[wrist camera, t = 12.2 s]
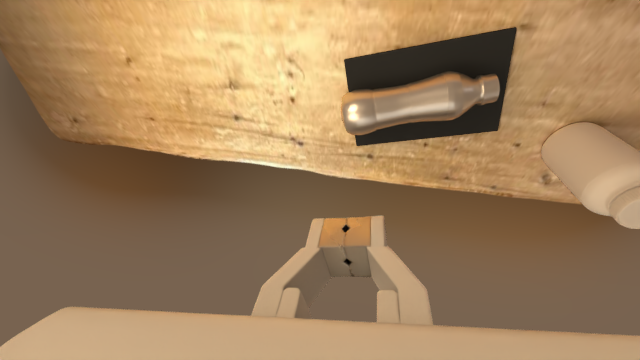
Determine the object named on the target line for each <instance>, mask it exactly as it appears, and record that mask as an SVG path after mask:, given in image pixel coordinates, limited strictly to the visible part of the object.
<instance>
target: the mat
mask: <svg viewBox="0 0 640 360" xmlns="http://www.w3.org/2000/svg"><path fill="white" fill-rule="evenodd" d="M515 34H516V27H514V28H509V29H504V30H498V31H493V32H488V33H482V34H477V35H472V36H466V37H461V38H456V39H451V40H445V41H440V42H435V43H429V44H424V45H419V46H413V47H408V48H403V49H397V50H392V51H387V52H381V53H376V54H371V55H365V56H360V57H355V58H349V59H345V60H344V62H345V69H346V76H347V83H348V90H349V92H351V91H354V90H360V89H371V90H374V89H380V88H388V87H396V86H400V85H407V84H408V83H412V82H416V81H420V80H423V79H426V78H429V77H432V76H435V75H438V74H441V73H444V72H448V71H451V72H458V73H461V74H464V75H466V76H468V77H470V78H472V79H476V77H477V76H479V75H483V76H484V75H489V74H496V75H497V77H498V80H499V85H500V91H499V97H498V99H497V101H495V102H493V103H487V104H484V105H480V106H479V105H477V104H475V105H473V106H472V107H471V108H470V109H469V110H468V111H466V112H465V113H464V114H462V115H461V116H460V117H458V118H455V119H453V120H447V121H444V120H443V121H422V122H414V123H411V122H409V123H405V124H399V125H395V126H390V127H386V128H382V129H377V130H376V131H373V132H371V133H367V134H364V135H355V138H356V145H357V146H360V145H370V144H379V143H388V142H398V141H407V140H416V139H425V138H435V137H444V136H453V135H463V134H472V133H481V132H490V131H498V126H499V121H500V115H501V110H502V105H503V99H504V94H505V88H506V83H507V77H508V72H509V66H510V61H511V55H512V50H513V44H514V39H515Z"/></svg>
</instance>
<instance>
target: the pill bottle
mask: <svg viewBox="0 0 640 360" xmlns="http://www.w3.org/2000/svg"><path fill="white" fill-rule="evenodd" d="M541 156H542V159H543V161H544V162H545V164H546V165H547V166H548V167H549V168H550V169H551V170H552V172H553V173H554V174H555V175H556V176H557V177H558V178H559V179H560V180H561V181H562V182H563V183H564V185H565V186H566V187H567V188H568V189H569V190H570V191H571V192H572V193H573V194H574V195H575V196H576V198H577V199H578V200H579V201H580V202H581V203H582V204H583V205H584V206H585V207H586V208H587V209H589V210H591V211H593V212H595V213H597V214H601V215H605V216H612V217H613V218H614V219H615V220H616V221H617V222H618V223H619V224H621V225H622V226H625V227H628V228H633V229H640V151H638V150H636V149H635V148H633V147H632V146H630V145H629V144H627V143H626V142H624V141H623V140H621V139H620V138H618V137H617V136H615V135H614V134H612V133H611V132H609V131H607V130H606V129H604V128H603V127H601V126H599V125H597V124H594V123H588V122H581V123H574V124H570V125H567V126H565V127H563V128H561V129H559V130H557V131H556V132H554V133H553V134H552V135H551V136H549V137H548V139H547V140H546V141H545V143H544V144H543V146H542V150H541Z"/></svg>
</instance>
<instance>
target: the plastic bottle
mask: <svg viewBox="0 0 640 360" xmlns="http://www.w3.org/2000/svg"><path fill="white" fill-rule="evenodd" d="M499 91H500V85H499V80H498V77H497V75H496V74H489V75H484V76H483V75H479V76H477V77H476V79H472V78H470V77H468V76H466V75H464V74H461V73H458V72H451V71H448V72H444V73H441V74H438V75H435V76H432V77H429V78H426V79H423V80H420V81H416V82H412V83H408V84H407V85H400V86H396V87H388V88H380V89H374V90H371V89H360V90H354V91H351V92H349V93H347V94H346V95H344V96H343V97H342V104H341V118H342V121H343V123H344V126H345V128H346V130H347V132H348V133H350V134H352V135H364V134H367V133H371V132H373V131H376V130H377V129H382V128H386V127H390V126H395V125H399V124H405V123H409V122H411V123H414V122H422V121H443V120H444V121H447V120H453V119H455V118H458V117H460V116H461V115H462V114H464V113H465V112H466V111H468V110H469V109H470V108H471V107H472V106H473V105H475V104H477V105H479V106H480V105H484V104H487V103H493V102H495V101H497V99H498V97H499Z"/></svg>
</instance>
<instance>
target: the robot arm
mask: <svg viewBox="0 0 640 360" xmlns="http://www.w3.org/2000/svg"><path fill="white" fill-rule="evenodd" d="M341 276H342V277H343V276H355V277H372V279H373V281H374V282H375V284H376V285H377V287H378V289H379V290H380V291H379V292H378V293H377V322H360V321H340V320H321V319H313V318H312V316H311V314H310V311H309V308H310V306H311V305H312V303H313V302H314V301H315V299H316V298H317V297H318V295H319V294H320V292H321V291H322V290H323V288H324V287H325V286H326V284H327V283H328V281H329V280H330V279H331V277H341ZM0 360H640V336H633V335H613V334H594V333H575V332H555V331H535V330H516V329H497V328H477V327H458V326H439V325H433V321H432V315H431V309H430V304H429V298H428V293H427V289H426V288H425V287H424V286H423V285H422V283H421V282H420V281H419V280H418V279H417V278H416V277H415V275H414V274H413V273H412V272H411V271H410V270H409V269H408V267H407V266H406V265H405V264H404V263H403V262H402V261H401V259H400V258H399V257H398V256H397V255H396V254H395V253H394V252H393V250H392V249H391V248H390V247H389V246H387V239H386V229H385V220H384V216H367V217H351V218H350V217H349V218H325V219H313V221H312V224H311V227H310V231H309V235H308V239H307V243H306V246H305V248H301V249H300V250H299V251H298V252H297V253H296V254H295V255H294V256H293V257H292V258H291V259H290V260H289V261H288V262H287V263H286V264H285V265H284V266H282V267H281V268H280V269H279V270H278V271H277V272H276V273H275V274H274V275H273V276H272V277H271V278H270V279H269V280H268V281H267V282H266V283H265V284H264V285H262V287H261V290H260V293H259V295H258V298H257V301H256V304H255V306H254V309H253V312H252V314H251V316H244V315H224V314H205V313H204V314H203V313H186V312H167V311H148V310H128V309H109V308H90V307H66V308H63V309H61V310H59V311H57V312H55V313H53V314H52V315H50V316H48V317H46V318H44V319H43V320H41V321H39V322H38V323H36V324H34V325H33V326H31V327H29V328H28V329H26V330H24V331H23V332H21V333H20V334H18V335H16V336H15V337H13V338H12V339H10V340H9V341H8V342H6V343H5V344H4V345H2V346H1V347H0Z"/></svg>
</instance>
